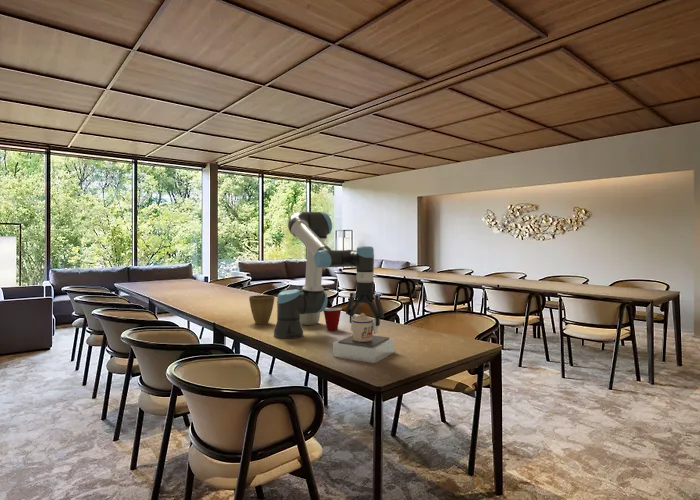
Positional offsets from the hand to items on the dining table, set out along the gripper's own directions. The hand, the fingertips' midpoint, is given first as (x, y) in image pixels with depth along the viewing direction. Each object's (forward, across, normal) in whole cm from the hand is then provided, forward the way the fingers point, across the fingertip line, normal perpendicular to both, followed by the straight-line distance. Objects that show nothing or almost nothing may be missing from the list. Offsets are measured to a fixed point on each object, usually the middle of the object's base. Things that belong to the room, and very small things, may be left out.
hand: (364, 331), depth 187 cm
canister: (+10, -59, +43) cm, 74 cm away
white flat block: (+10, 0, +3) cm, 10 cm away
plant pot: (+10, -83, +30) cm, 89 cm away
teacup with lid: (+3, 0, 0) cm, 3 cm away
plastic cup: (+10, -38, +36) cm, 53 cm away
